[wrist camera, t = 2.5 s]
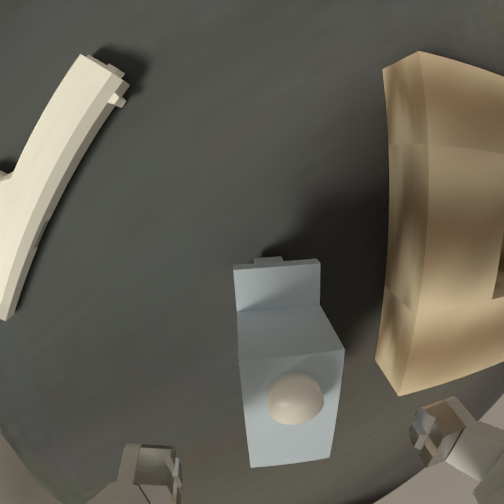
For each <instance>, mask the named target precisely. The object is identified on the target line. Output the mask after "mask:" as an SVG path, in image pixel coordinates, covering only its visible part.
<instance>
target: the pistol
mask: <svg viewBox="0 0 504 504" xmlns="http://www.w3.org/2000/svg"><path fill="white" fill-rule="evenodd" d="M124 75H125V73H123V72H122V71H120V70H119V69H117V68H116V67H114V66H112V65H111V64H108V65H105V64H104V63H102V62H100V61H99V60H97V59H95V58H93V57H92V56H90V55H87V57H85V56H83V55H81V54H80V55H79V57H78V58H77V60H76V61H75V62H74V64H73V65H72V67H71V68H70V70H69V71H68V73H67V74H66V76H65V77H64V79H63V80H62V82H61V83H60V85H59V87H58V88H57V90H56V91H55V93H54V95H53V96H52V98H51V100H50V102H49V103H48V105H47V107H46V108H45V110H44V112H43V114H42V116H41V117H40V119H39V121H38V123H37V125H36V127H35V128H34V130H33V132H32V134H31V136H30V138H29V140H28V142H27V144H26V146H25V148H24V150H23V152H22V154H21V156H20V158H19V161H18V163H17V165H16V167H15V169H14V171H13V172H11V173H10V174H7V173H5V172H3V171H1V170H0V319H2V320H4V321H6V320H8V319H9V318H10V317H11V316H12V315H13V314H14V312H15V309H16V306H17V303H18V300H19V296H20V293H21V291H22V288H23V285H24V282H25V279H26V276H27V274H28V271H29V268H30V266H31V263H32V260H33V258H34V255H35V253H36V251H37V247H38V244H39V242H40V239H41V237H42V235H43V232H44V230H45V228H46V226H47V224H48V221H49V220H50V218H51V216H52V214H53V212H54V210H55V208H56V206H57V204H58V202H59V200H60V198H61V196H62V194H63V192H64V190H65V188H66V186H67V184H68V182H69V181H70V179H71V177H72V175H73V173H74V171H75V170H76V168H77V166H78V164H79V162H80V161H81V159H82V157H83V156H84V154H85V152H86V151H87V149H88V147H89V146H90V144H91V142H92V141H93V139H94V137H95V136H96V134H97V133H98V131H99V130H100V128H101V126H102V125H103V123H104V122H105V120H106V119H107V117H108V116H109V114H110V113H111V111H112V110H113V108H114V107H115V106H118V107H121V108H122V107H123V106H124V104H125V103H126V102H127V101H126V100H125V99H124V98H123V97H122V96H123V94H124V93H125V92H126V90H127V89H128V87H129V86H130V85H129V84H128V83H127V82H125V81H124V80H122V79H121V78H122V77H123V76H124Z"/></svg>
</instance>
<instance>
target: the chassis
mask: <svg viewBox="0 0 504 504" xmlns="http://www.w3.org/2000/svg"><path fill="white" fill-rule="evenodd" d="M382 71H383V80H384V89H385V100H386V112H387V127H388V148H389V226H388V247H387V262H386V275H385V286H384V296H383V305H382V314H381V322H380V329H379V336H378V343H377V349H376V356H375V360H376V362H377V364H378V365H379V367H380V368H381V370H382V371H383V373H384V374H385V376H386V377H387V379H388V381H389V382H390V384H391V385H392V387H393V388H394V390H395V392H396V393H397V395H398V396H402V395H406V394H409V393H413V392H417V391H420V390H424V389H427V388H430V387H434V386H437V385H440V384H443V383H446V382H449V381H452V380H455V379H458V378H461V377H464V376H467V375H469V374H472V373H475V372H477V371H480V370H483V369H485V368H488V367H490V366H493V365H495V364H498V363H500V362H502V361H504V77H503V76H500V75H497V74H495V73H492V72H489V71H486V70H484V69H481V68H478V67H475V66H472V65H469V64H465V63H462V62H459V61H455V60H452V59H448V58H445V57H441V56H437V55H433V54H429V53H425V52H421V51H418V52H416V53H414V54H412V55H410V56H408V57H406V58H404V59H402V60H400V61H398V62H396V63H394V64H392V65H390V66H388V67H386V68H384V69H382Z"/></svg>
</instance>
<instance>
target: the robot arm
mask: <svg viewBox="0 0 504 504" xmlns="http://www.w3.org/2000/svg"><path fill="white" fill-rule="evenodd" d="M415 416H416V418H417V419H416V420H415V421H414V422H413V423H412V425H411V428H410V439H411V442H412V444H413V446H414V447H415V448H418V449H420V454H419V456H420V458H421V459H422V461H423V463H424V464H425V466H426V468H427V467H430V466H432V465H435V464H437V463H440V462H442V461H445V460H446V462H447V463H449V464H451V465H452V466H454V467H455V468H457V469H459V470H461V471H462V472H464V473H466V474H468V475H469V476H471V477H473V478H475V479H476V480H478V481H480V483H479V485H478V486H477V487H476V488H475V489H474V492H473V494H474V496H475V498H476V499H477V501H478V504H504V430H502V429H499V428H497V427H494V426H491V425H489V424H486V423H483V422H476V420H475V419H474V418H473V417H472V416H471V414H470V413H469V412H468V411H467V410H466V408H465V407H464V406H463V405H462V404H461V403H460V401H459V400H458V399H457V398H456V397H454V396H453V397H450V398H447V399H445V400H442V401H438V402H436V403H433V404H430V405H427V406H424V407H422V408H420V409H419V410H417V412H416V415H415ZM181 485H182V469H181V464H180V461H179V459H177V458H176V450H175V448H174V446H163V445H147V444H133V443H127V444H126V446H125V447H124V451H123V456H122V460H121V464H120V468H119V472H118V477H117V481H116V482H111V483H110V484H109V485H108V486H107V487H106V488H104V489H103V490H102V491H101V492H100V493H98V494H97V495H96V496H95V497H94V498H93V499H91V500H90V501H89V502H88V503H87V504H181V494H180V491H179V489H178V488H179V487H180V486H181Z"/></svg>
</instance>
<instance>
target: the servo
mask: <svg viewBox="0 0 504 504" xmlns="http://www.w3.org/2000/svg"><path fill="white" fill-rule="evenodd" d="M233 271H234V283H235V295H236V307H237V327H238V355H239V369H240V378H241V388H242V397H243V406H244V415H245V424H246V432H247V441H248V449H249V458H250V466H251V467H263V466H274V465H283V464H291V463H298V462H305V461H312V460H318V459H324V458H329V457H330V451H331V446H332V440H333V434H334V428H335V422H336V416H337V409H338V402H339V395H340V387H341V379H342V371H343V362H344V353H345V349H344V347H343V345H342V343H341V341H340V340H339V338H338V336H337V334H336V332H335V331H334V329H333V327H332V325H331V324H330V322H329V320H328V318H327V317H326V315H325V313H324V311H323V309H322V308H321V306H320V262H319V261H318V260H317V259H306V260H293V261H283V259H282V257H281V256H278V257H265V258H254V264H240V265H233Z"/></svg>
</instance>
